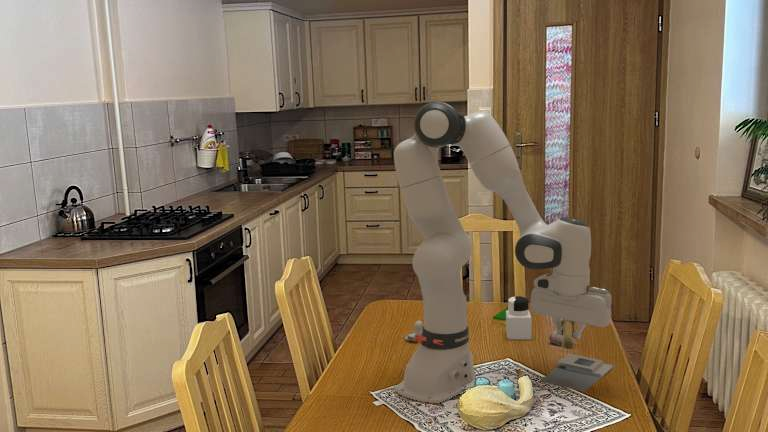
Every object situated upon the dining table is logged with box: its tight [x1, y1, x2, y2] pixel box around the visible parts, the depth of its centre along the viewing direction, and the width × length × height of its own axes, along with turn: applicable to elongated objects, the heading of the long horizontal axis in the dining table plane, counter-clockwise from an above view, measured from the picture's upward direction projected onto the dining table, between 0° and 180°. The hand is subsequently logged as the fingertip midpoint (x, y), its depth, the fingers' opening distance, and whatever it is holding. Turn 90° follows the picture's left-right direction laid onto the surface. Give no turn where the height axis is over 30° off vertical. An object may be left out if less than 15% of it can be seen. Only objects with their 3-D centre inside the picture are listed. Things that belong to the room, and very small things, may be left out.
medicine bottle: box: [505, 295, 533, 341], centre depth 216 cm, size 7×7×12 cm
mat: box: [539, 362, 616, 393], centre depth 183 cm, size 20×12×2 cm, turn 142°
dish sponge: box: [492, 307, 508, 326], centre depth 234 cm, size 7×14×2 cm, turn 147°
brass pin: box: [561, 319, 576, 350], centre depth 178 cm, size 3×3×8 cm
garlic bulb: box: [548, 319, 563, 347], centre depth 208 cm, size 8×7×8 cm
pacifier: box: [404, 320, 423, 342], centre depth 217 cm, size 7×6×6 cm
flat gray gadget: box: [556, 353, 613, 378], centre depth 186 cm, size 7×12×2 cm, turn 52°
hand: (568, 336), depth 178 cm, fingers closed on brass pin, 3 cm apart
